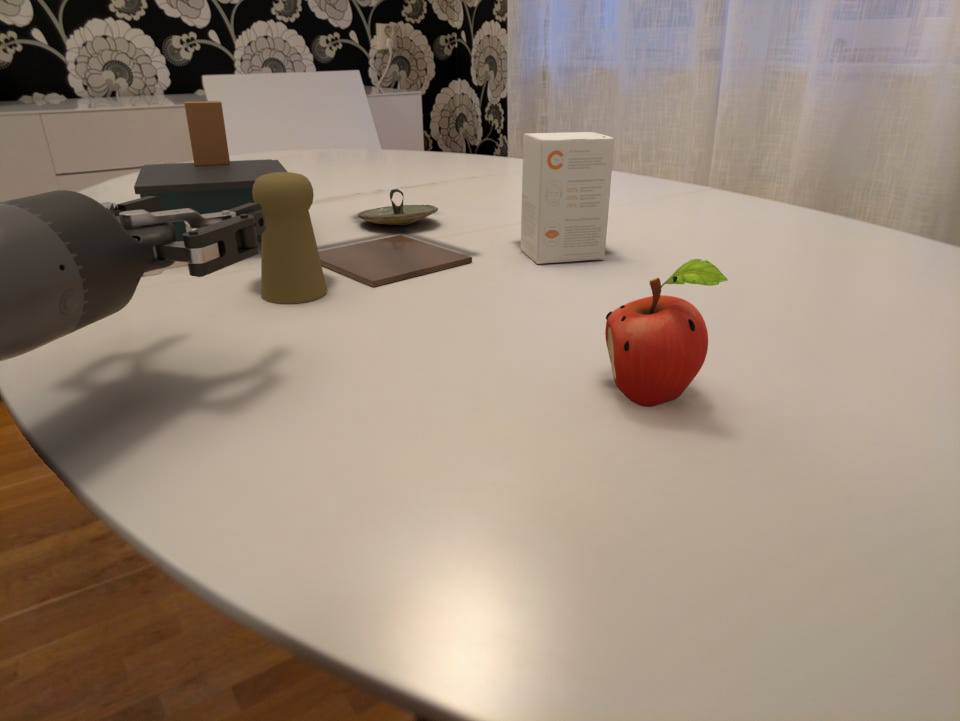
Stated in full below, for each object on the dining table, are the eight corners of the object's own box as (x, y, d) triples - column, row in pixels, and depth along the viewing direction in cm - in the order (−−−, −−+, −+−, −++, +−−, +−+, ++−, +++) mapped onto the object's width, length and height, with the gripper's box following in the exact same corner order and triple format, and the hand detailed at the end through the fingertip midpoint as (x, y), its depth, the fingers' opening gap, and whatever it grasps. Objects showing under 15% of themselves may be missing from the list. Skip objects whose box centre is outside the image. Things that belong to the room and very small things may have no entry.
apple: (576, 403, 44) (588, 254, 40) (618, 367, 49) (633, 231, 45) (693, 438, 40) (720, 277, 36) (725, 395, 45) (752, 249, 41)
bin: (150, 249, 77) (137, 182, 74) (155, 223, 88) (144, 164, 85) (290, 238, 82) (283, 175, 79) (278, 214, 93) (271, 159, 90)
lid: (412, 248, 84) (421, 209, 81) (342, 221, 85) (349, 183, 83) (442, 232, 93) (451, 197, 91) (379, 208, 95) (386, 174, 92)
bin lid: (135, 194, 67) (118, 112, 64) (142, 172, 80) (129, 102, 76) (294, 185, 73) (286, 109, 69) (278, 166, 85) (271, 100, 82)
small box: (583, 246, 80) (592, 130, 74) (605, 260, 74) (616, 137, 69) (518, 249, 78) (522, 132, 72) (535, 265, 72) (541, 138, 67)
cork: (261, 306, 60) (243, 180, 55) (261, 285, 65) (245, 169, 61) (329, 300, 61) (318, 177, 57) (324, 280, 67) (314, 166, 62)
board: (373, 287, 65) (372, 281, 65) (305, 259, 74) (304, 253, 73) (472, 262, 73) (472, 257, 73) (400, 239, 82) (400, 234, 82)
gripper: (115, 213, 32) (288, 165, 47) (-108, 196, 36) (117, 156, 50) (146, 355, 35) (300, 270, 50) (-62, 327, 39) (137, 255, 53)
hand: (208, 213), depth 50 cm, fingers open, 8 cm apart
